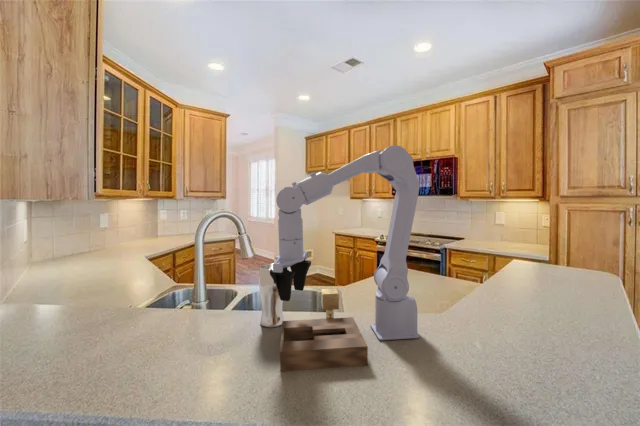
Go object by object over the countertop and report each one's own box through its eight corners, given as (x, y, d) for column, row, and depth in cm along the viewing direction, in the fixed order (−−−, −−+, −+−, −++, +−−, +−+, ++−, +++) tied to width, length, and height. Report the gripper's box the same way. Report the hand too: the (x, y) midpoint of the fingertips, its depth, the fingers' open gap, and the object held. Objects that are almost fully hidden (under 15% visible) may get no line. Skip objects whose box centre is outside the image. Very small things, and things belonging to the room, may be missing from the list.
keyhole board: (353, 332, 72) (352, 317, 72) (367, 365, 58) (367, 346, 58) (282, 336, 71) (282, 321, 71) (280, 371, 57) (279, 351, 57)
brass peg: (336, 321, 79) (336, 288, 78) (338, 327, 75) (338, 293, 75) (321, 322, 79) (321, 289, 78) (323, 328, 75) (322, 294, 74)
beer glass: (253, 324, 77) (253, 267, 76) (269, 315, 83) (270, 262, 82) (274, 330, 74) (275, 270, 73) (290, 320, 80) (291, 265, 79)
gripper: (289, 234, 79) (290, 284, 79) (259, 242, 65) (261, 303, 66) (314, 234, 76) (315, 287, 77) (288, 243, 63) (290, 307, 63)
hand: (292, 294), depth 71 cm, fingers open, 7 cm apart
